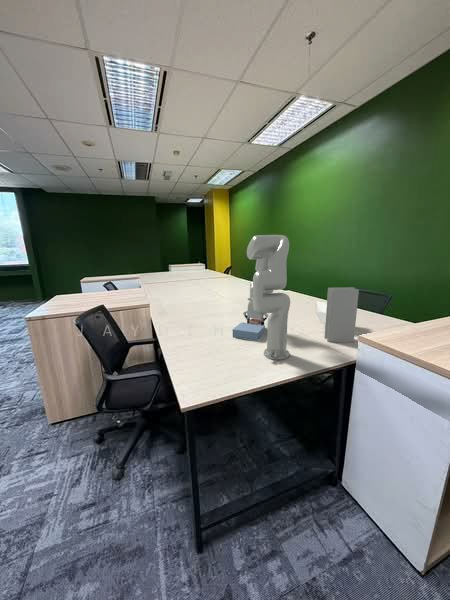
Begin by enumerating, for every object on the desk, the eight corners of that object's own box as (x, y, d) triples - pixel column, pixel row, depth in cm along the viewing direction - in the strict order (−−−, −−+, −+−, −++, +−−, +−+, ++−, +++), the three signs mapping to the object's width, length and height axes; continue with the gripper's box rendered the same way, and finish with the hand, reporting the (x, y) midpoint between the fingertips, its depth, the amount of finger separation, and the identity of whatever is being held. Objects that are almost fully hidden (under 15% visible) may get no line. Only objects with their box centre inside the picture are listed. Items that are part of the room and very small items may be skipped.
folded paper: (341, 306, 144) (356, 304, 154) (308, 299, 164) (323, 298, 173) (337, 333, 147) (353, 330, 157) (305, 323, 167) (321, 321, 176)
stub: (257, 331, 154) (257, 321, 153) (248, 329, 157) (248, 320, 155) (261, 326, 162) (262, 317, 161) (253, 325, 165) (253, 316, 163)
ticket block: (257, 341, 139) (258, 332, 138) (232, 337, 146) (232, 328, 145) (265, 332, 152) (265, 324, 151) (241, 329, 159) (241, 321, 158)
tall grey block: (349, 338, 140) (354, 287, 133) (353, 342, 134) (359, 289, 128) (324, 338, 141) (328, 287, 135) (327, 341, 136) (331, 289, 129)
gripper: (241, 300, 156) (241, 326, 160) (267, 303, 148) (266, 329, 152) (245, 298, 162) (245, 322, 166) (270, 300, 155) (269, 325, 159)
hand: (255, 325), depth 159 cm, fingers open, 8 cm apart
